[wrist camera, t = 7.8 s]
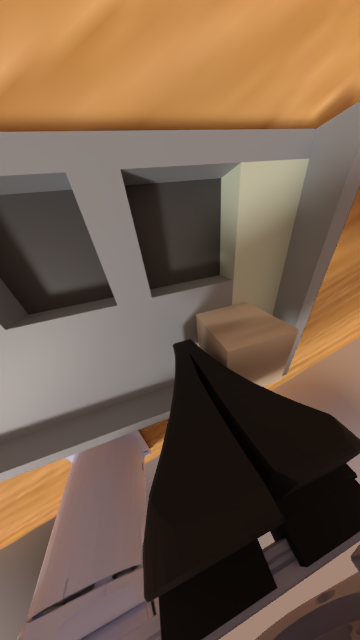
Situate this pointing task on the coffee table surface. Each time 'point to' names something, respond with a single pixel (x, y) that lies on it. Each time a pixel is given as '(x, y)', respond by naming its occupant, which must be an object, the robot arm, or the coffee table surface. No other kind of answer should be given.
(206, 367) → the robot arm
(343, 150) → the box
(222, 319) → the block
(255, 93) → the coffee table surface
